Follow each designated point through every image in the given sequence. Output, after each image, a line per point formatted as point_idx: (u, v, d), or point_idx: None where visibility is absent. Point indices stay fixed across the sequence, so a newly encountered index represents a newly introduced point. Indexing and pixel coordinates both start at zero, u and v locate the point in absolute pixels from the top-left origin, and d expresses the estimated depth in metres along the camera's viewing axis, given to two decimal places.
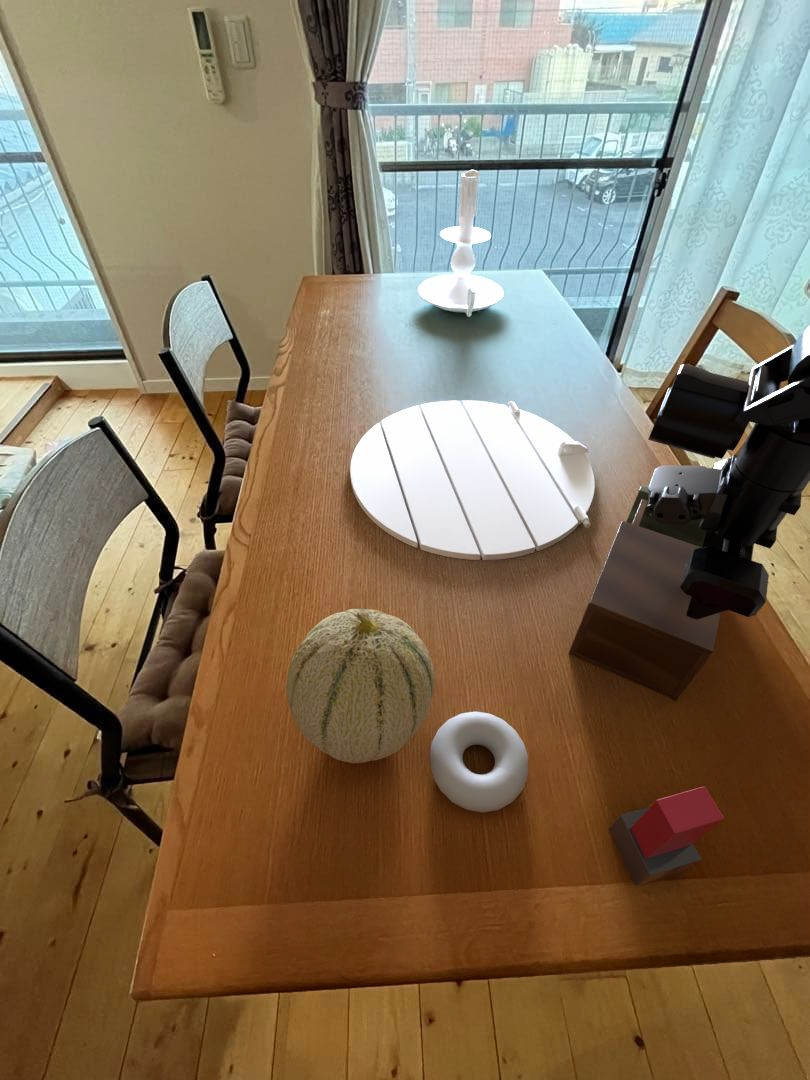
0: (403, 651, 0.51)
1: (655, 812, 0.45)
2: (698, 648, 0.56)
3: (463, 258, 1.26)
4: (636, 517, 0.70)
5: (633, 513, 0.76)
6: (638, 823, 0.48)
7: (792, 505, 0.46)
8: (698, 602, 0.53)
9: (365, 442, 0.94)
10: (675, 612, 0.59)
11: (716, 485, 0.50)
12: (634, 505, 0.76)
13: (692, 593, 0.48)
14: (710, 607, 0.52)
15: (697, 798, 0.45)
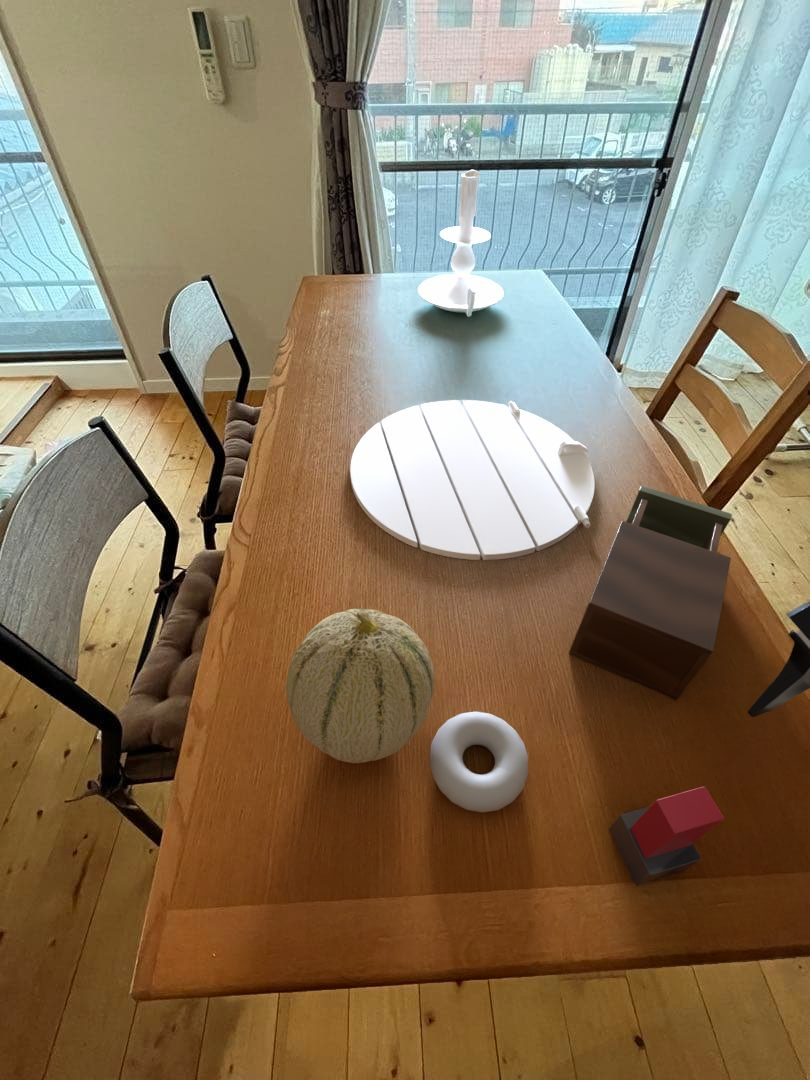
0: (403, 651, 0.51)
1: (655, 812, 0.45)
2: (698, 648, 0.56)
3: (463, 258, 1.26)
4: (636, 517, 0.70)
5: (633, 513, 0.76)
6: (638, 823, 0.48)
7: None
8: None
9: (365, 442, 0.94)
10: (675, 612, 0.59)
11: None
12: (634, 505, 0.76)
13: None
14: None
15: (697, 798, 0.45)
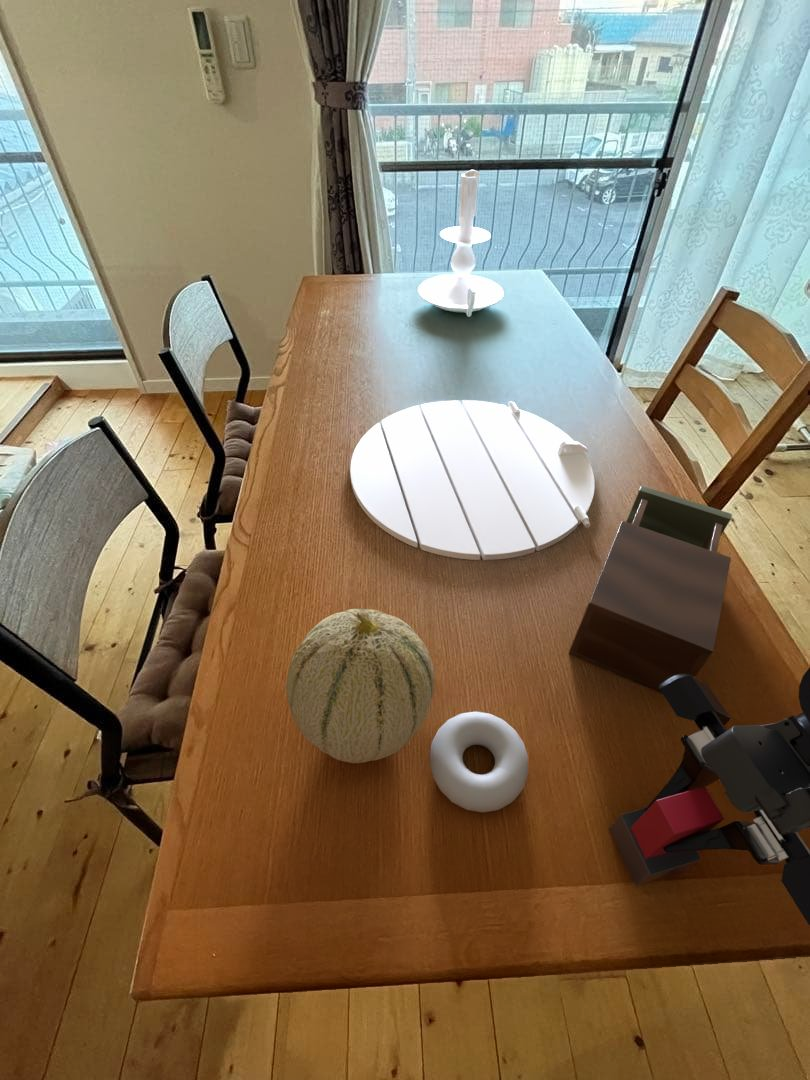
0: (403, 651, 0.51)
1: (655, 812, 0.45)
2: (698, 648, 0.56)
3: (463, 258, 1.26)
4: (636, 517, 0.70)
5: (633, 513, 0.76)
6: (638, 823, 0.48)
7: None
8: None
9: (365, 442, 0.94)
10: (675, 612, 0.59)
11: (803, 765, 0.39)
12: (634, 505, 0.76)
13: None
14: (713, 849, 0.44)
15: (697, 798, 0.45)
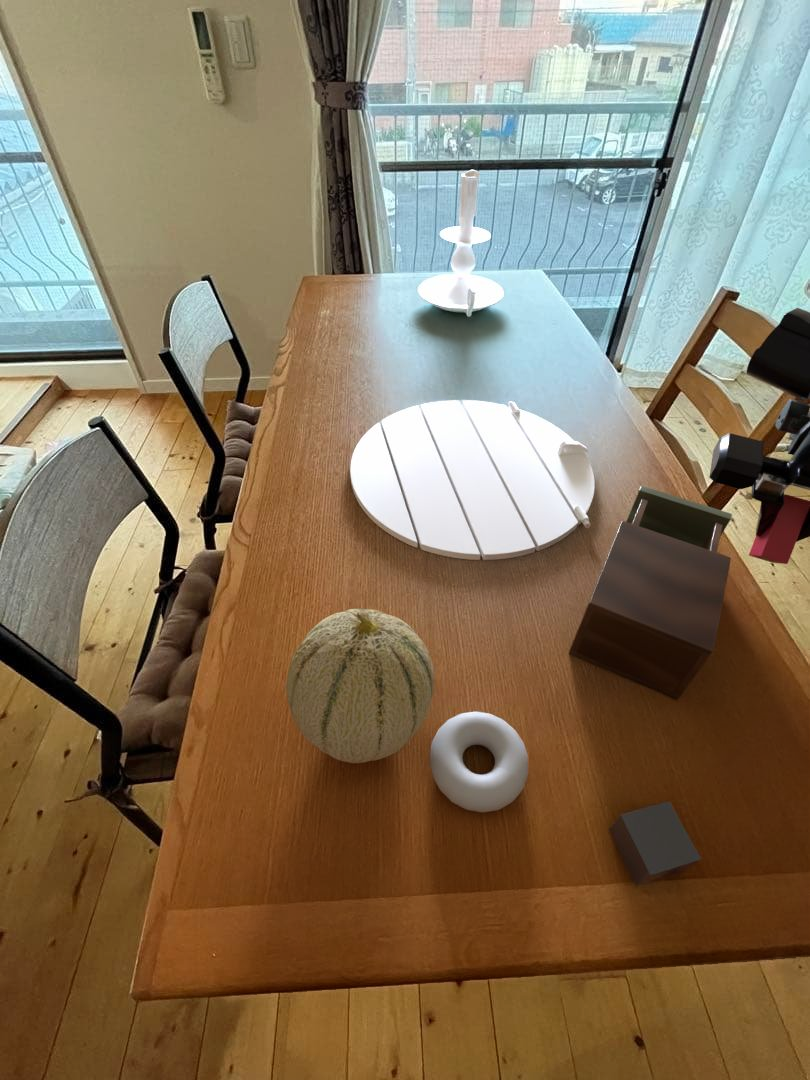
0: (403, 651, 0.51)
1: None
2: (698, 648, 0.56)
3: (463, 258, 1.26)
4: (636, 517, 0.70)
5: (633, 513, 0.76)
6: None
7: None
8: (761, 506, 0.61)
9: (365, 442, 0.94)
10: (675, 612, 0.59)
11: None
12: (634, 505, 0.76)
13: (714, 449, 0.60)
14: (760, 513, 0.60)
15: None
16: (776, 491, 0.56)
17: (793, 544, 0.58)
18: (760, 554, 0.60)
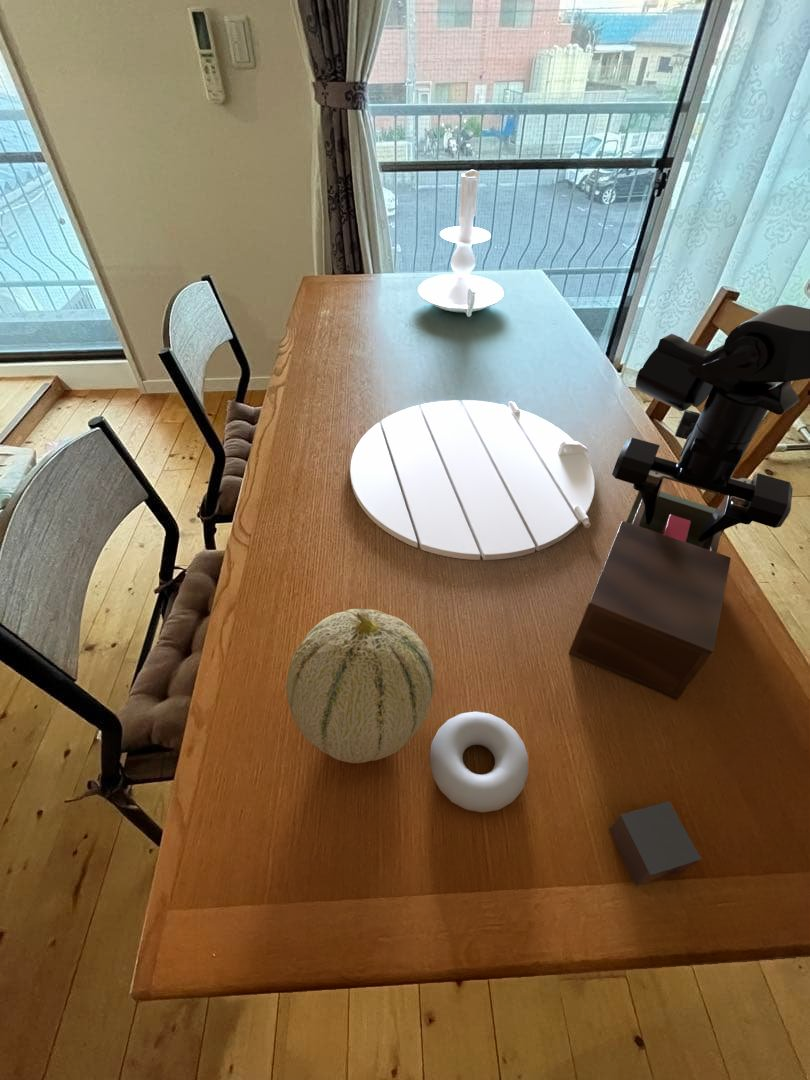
0: (403, 651, 0.51)
1: None
2: (698, 648, 0.56)
3: (463, 258, 1.26)
4: (636, 517, 0.70)
5: (633, 513, 0.76)
6: None
7: (694, 442, 0.60)
8: None
9: (365, 442, 0.94)
10: (675, 612, 0.59)
11: None
12: (634, 505, 0.76)
13: None
14: None
15: (680, 535, 0.68)
16: (652, 483, 0.66)
17: None
18: None
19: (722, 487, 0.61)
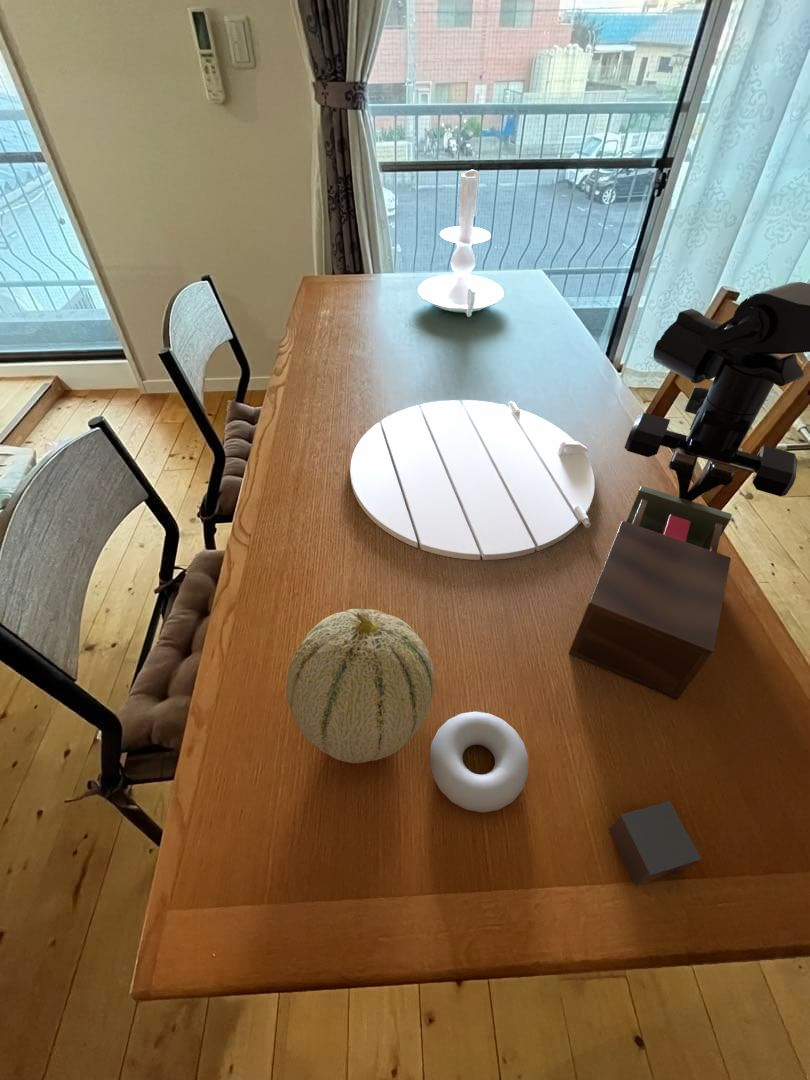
0: (403, 651, 0.51)
1: None
2: (698, 648, 0.56)
3: (463, 258, 1.26)
4: (636, 517, 0.70)
5: (633, 513, 0.76)
6: None
7: None
8: None
9: (365, 442, 0.94)
10: (675, 612, 0.59)
11: None
12: (634, 505, 0.75)
13: None
14: None
15: (680, 535, 0.68)
16: (687, 462, 0.68)
17: None
18: None
19: (730, 457, 0.64)
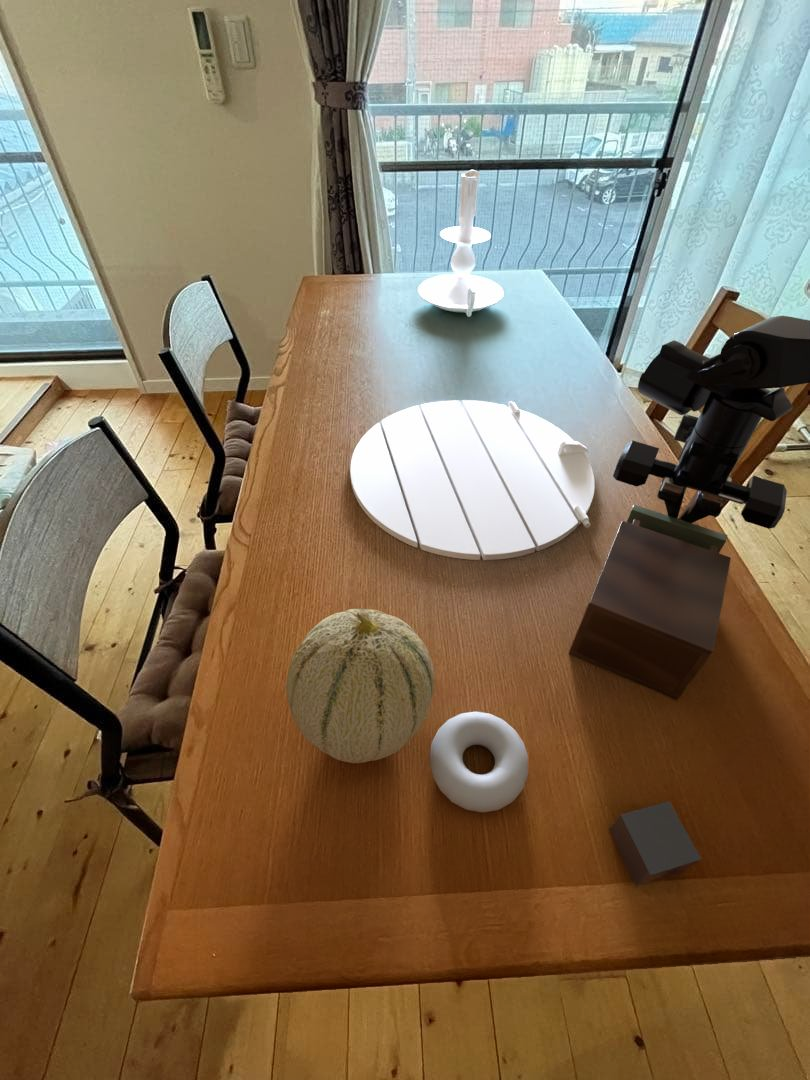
0: (403, 651, 0.51)
1: None
2: (698, 648, 0.56)
3: (463, 258, 1.26)
4: None
5: None
6: None
7: (692, 445, 0.63)
8: None
9: (365, 442, 0.94)
10: (675, 612, 0.59)
11: None
12: None
13: None
14: None
15: None
16: (676, 492, 0.67)
17: None
18: None
19: (719, 489, 0.64)
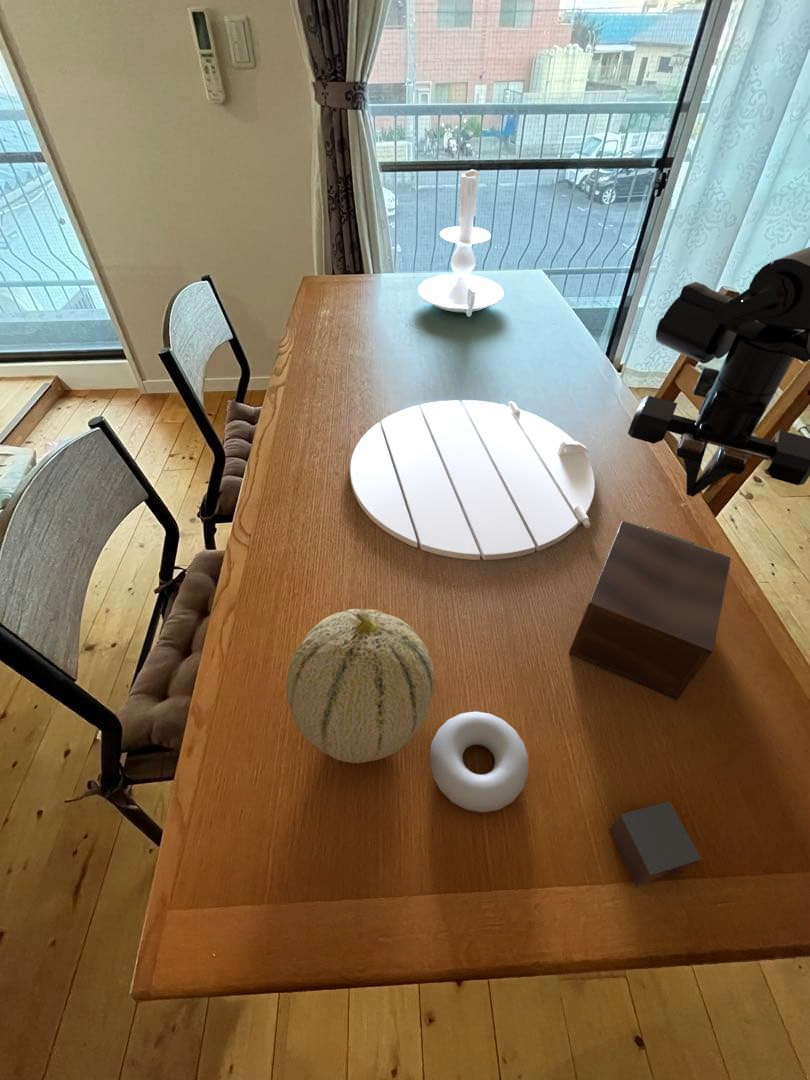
0: (403, 651, 0.51)
1: None
2: (698, 648, 0.56)
3: (463, 258, 1.26)
4: None
5: None
6: None
7: (715, 395, 0.58)
8: None
9: (365, 442, 0.94)
10: (675, 612, 0.59)
11: None
12: None
13: None
14: None
15: None
16: (696, 449, 0.63)
17: None
18: None
19: (744, 443, 0.59)
